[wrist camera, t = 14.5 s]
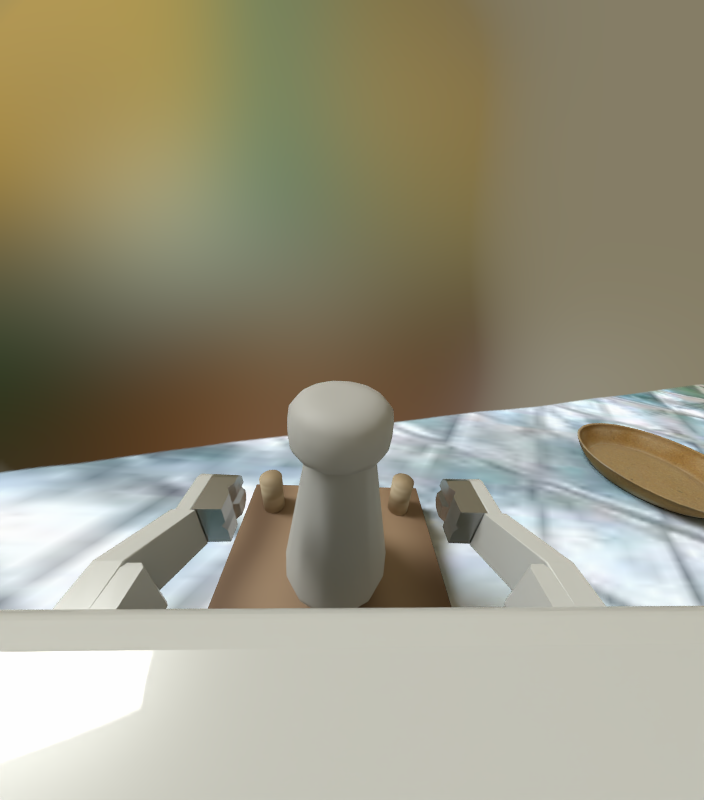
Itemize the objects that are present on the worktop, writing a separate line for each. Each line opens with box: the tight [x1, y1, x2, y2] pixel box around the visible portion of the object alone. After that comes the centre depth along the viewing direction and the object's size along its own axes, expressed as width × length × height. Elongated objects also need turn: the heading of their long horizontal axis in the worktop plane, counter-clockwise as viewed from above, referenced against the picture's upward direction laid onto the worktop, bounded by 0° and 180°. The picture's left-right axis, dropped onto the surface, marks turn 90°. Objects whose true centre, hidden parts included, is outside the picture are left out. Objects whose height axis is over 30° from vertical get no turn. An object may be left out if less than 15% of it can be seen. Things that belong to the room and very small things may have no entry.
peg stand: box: [208, 470, 451, 609], centre depth 16 cm, size 14×14×6 cm
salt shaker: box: [286, 381, 394, 608], centre depth 13 cm, size 6×6×13 cm
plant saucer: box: [578, 423, 704, 518], centre depth 29 cm, size 15×15×3 cm
